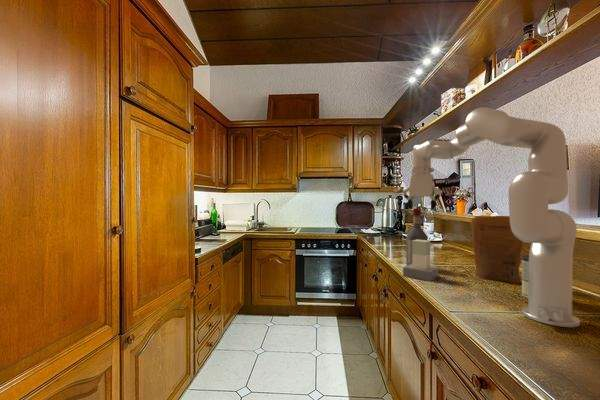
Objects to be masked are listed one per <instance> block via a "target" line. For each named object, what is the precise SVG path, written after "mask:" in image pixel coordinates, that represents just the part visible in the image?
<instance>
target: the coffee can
mask: <svg viewBox="0 0 600 400" xmlns="http://www.w3.org/2000/svg"><path fill="white" fill-rule="evenodd" d="M520 259H521V296H522V297H525V298H527V299H528V296H529V254H528V255H521V257H520Z"/></svg>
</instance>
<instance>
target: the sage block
mask: <svg viewBox="0 0 600 400" xmlns="http://www.w3.org/2000/svg"><path fill="white" fill-rule="evenodd" d="M412 254H417V255H425V256H426V255H429V254H430V255H431V240H429V239H428V240H418V239H417V240H413V241H412Z"/></svg>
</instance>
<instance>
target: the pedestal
mask: <svg viewBox="0 0 600 400" xmlns="http://www.w3.org/2000/svg"><path fill="white" fill-rule="evenodd" d="M402 276H403V277H406V278H410V277H411V279H416V280H417V279H418V280H421V281H426V282H427V281H428V282H433V281H434V280H435V279H436V278H437V277H439V276H440V267H439V266H436V265H435V266H434V265H430V267H429V268H428V269H421V268H414V267H412V263H411V264H409V265H405V266H403V267H402Z"/></svg>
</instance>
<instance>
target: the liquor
mask: <svg viewBox="0 0 600 400" xmlns="http://www.w3.org/2000/svg"><path fill="white" fill-rule="evenodd" d="M412 210H413V211H412V216H413V220H412V221H413V224H412V228H411V229H409V231H408V232H407V233H406V236H405V237H406V238H405V239H406V245H405V248H406V249H405V251H406V252H405V257H406V259H405V263H406V264H405V266H407V265H409V264H411V263H412V241H413V240H417V239H418V240H429V239H428V235H427V234H426V232H425V231H424V230H423V228H422V226H421V214H422V213H421V208H413V209H412Z"/></svg>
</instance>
